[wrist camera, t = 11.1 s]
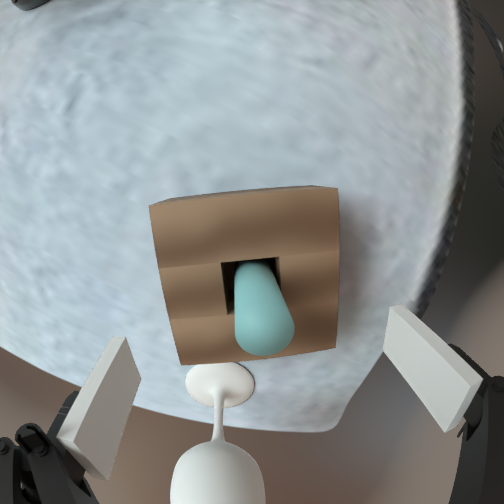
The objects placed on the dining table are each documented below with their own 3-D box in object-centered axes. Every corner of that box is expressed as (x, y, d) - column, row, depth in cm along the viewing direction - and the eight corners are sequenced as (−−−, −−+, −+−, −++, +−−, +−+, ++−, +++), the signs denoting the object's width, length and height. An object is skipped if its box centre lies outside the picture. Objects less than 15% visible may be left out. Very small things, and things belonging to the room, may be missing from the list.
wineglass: (207, 347, 30) (191, 520, 10) (267, 377, 32) (297, 531, 12) (174, 389, 32) (147, 533, 12) (230, 414, 34) (235, 549, 13)
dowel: (232, 252, 26) (231, 308, 14) (267, 248, 26) (293, 301, 14) (236, 284, 26) (238, 359, 15) (269, 281, 26) (295, 351, 15)
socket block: (169, 198, 26) (148, 205, 19) (312, 185, 26) (338, 188, 20) (190, 326, 29) (181, 365, 23) (315, 313, 30) (335, 347, 23)
